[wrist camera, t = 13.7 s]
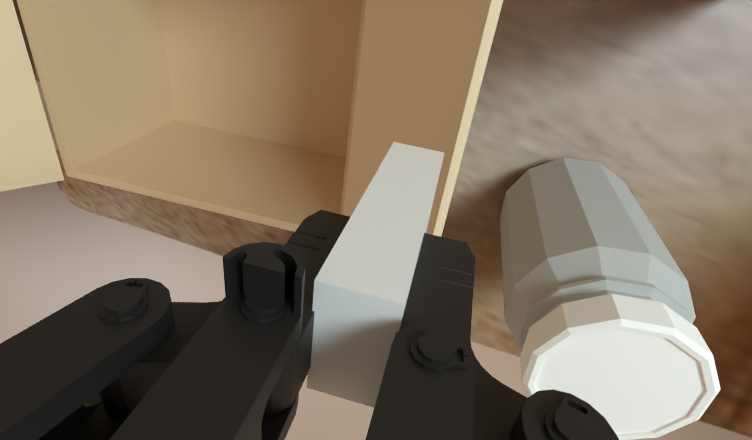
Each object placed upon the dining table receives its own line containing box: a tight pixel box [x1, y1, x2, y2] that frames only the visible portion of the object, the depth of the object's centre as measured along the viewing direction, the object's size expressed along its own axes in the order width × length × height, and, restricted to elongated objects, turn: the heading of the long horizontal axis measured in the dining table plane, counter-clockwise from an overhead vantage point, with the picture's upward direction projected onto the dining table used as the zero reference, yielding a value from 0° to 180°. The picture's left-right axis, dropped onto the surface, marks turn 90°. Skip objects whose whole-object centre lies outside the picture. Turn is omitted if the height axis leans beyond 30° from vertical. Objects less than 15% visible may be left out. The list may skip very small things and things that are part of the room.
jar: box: [500, 158, 721, 440], centre depth 28 cm, size 10×10×18 cm
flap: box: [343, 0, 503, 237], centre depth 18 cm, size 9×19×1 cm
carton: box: [17, 0, 366, 232], centre depth 28 cm, size 20×19×12 cm
